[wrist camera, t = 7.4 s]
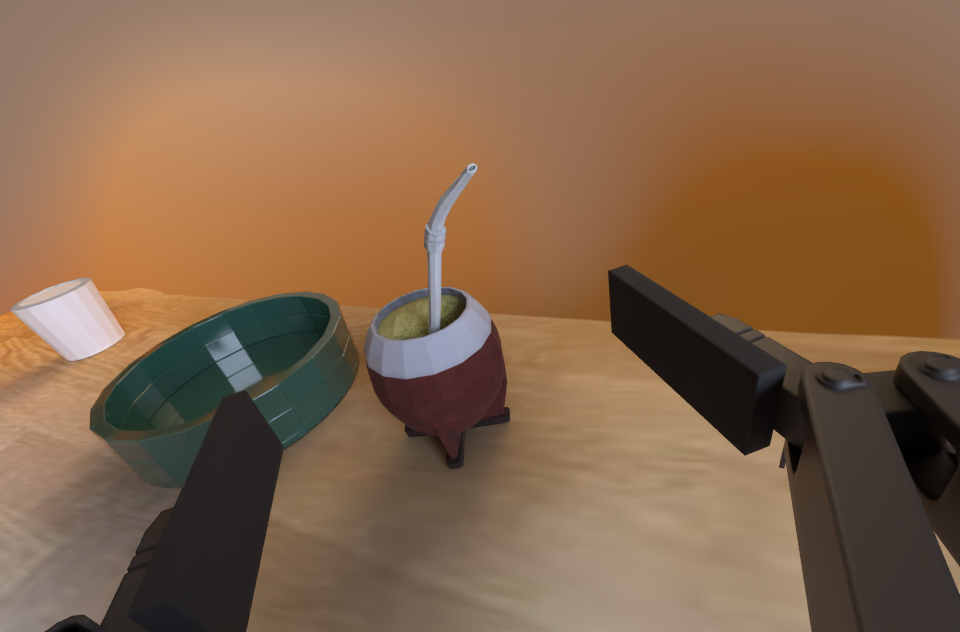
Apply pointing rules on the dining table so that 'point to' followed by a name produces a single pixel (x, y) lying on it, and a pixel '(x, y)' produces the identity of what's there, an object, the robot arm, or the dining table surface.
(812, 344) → the dining table surface
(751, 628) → the dining table surface
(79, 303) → the white cylinder
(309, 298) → the green round tray
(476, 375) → the mate gourd
